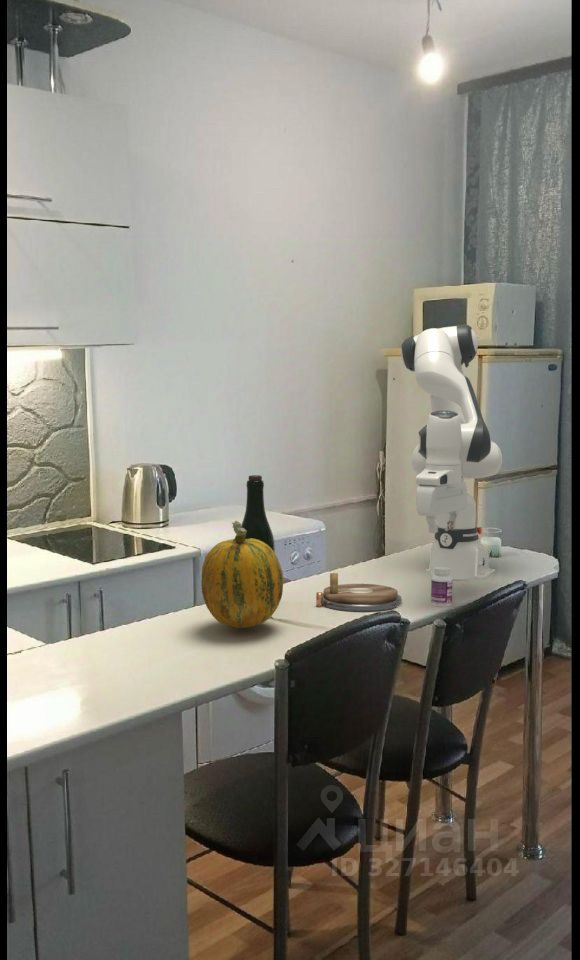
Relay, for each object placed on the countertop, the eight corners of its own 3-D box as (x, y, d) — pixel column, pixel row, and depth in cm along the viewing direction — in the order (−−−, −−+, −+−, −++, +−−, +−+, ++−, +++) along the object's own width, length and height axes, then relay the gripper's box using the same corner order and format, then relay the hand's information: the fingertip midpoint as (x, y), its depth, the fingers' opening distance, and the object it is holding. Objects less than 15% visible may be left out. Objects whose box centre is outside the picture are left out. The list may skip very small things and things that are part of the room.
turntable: (311, 592, 243) (311, 568, 243) (375, 587, 250) (376, 563, 250) (343, 607, 226) (343, 580, 225) (411, 600, 233) (411, 575, 232)
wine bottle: (255, 611, 229) (255, 477, 226) (226, 604, 236) (225, 475, 233) (284, 604, 237) (284, 475, 234) (255, 598, 244) (255, 473, 241)
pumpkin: (226, 638, 202) (225, 524, 200) (187, 621, 218) (186, 515, 216) (298, 627, 212) (298, 518, 210) (256, 611, 228) (256, 510, 226)
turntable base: (349, 591, 253) (349, 578, 253) (416, 601, 240) (416, 587, 240) (302, 604, 236) (302, 590, 236) (372, 616, 223) (372, 601, 223)
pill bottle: (452, 608, 232) (452, 570, 231) (430, 607, 233) (430, 569, 232) (452, 603, 237) (453, 566, 236) (431, 602, 238) (432, 565, 237)
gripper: (451, 472, 243) (450, 525, 244) (412, 477, 226) (411, 534, 228) (473, 473, 239) (472, 527, 240) (434, 479, 223) (434, 536, 224)
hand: (442, 530), depth 234 cm, fingers open, 8 cm apart
